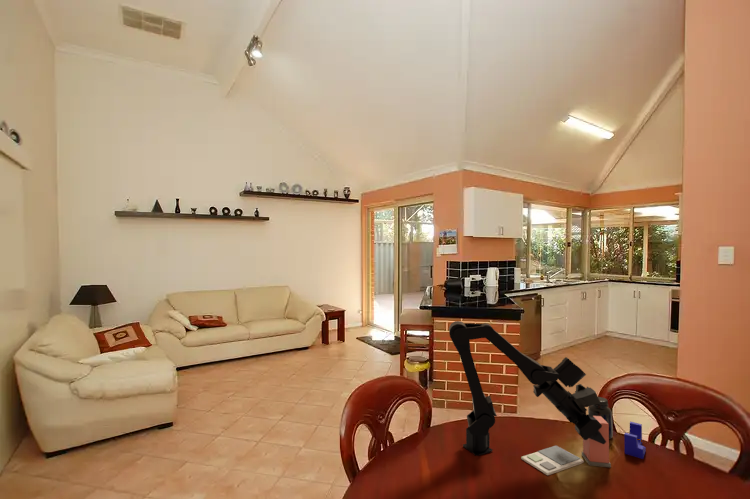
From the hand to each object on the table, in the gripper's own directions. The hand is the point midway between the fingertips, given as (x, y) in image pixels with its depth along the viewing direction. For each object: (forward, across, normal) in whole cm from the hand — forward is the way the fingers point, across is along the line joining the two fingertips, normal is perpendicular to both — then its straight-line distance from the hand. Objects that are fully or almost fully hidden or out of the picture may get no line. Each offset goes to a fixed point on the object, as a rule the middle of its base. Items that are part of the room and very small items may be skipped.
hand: (600, 438), depth 104 cm
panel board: (-5, -2, +14) cm, 16 cm away
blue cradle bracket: (+15, +10, -5) cm, 19 cm away
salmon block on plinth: (+4, 0, +6) cm, 7 cm away
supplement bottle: (+10, +18, 0) cm, 20 cm away
